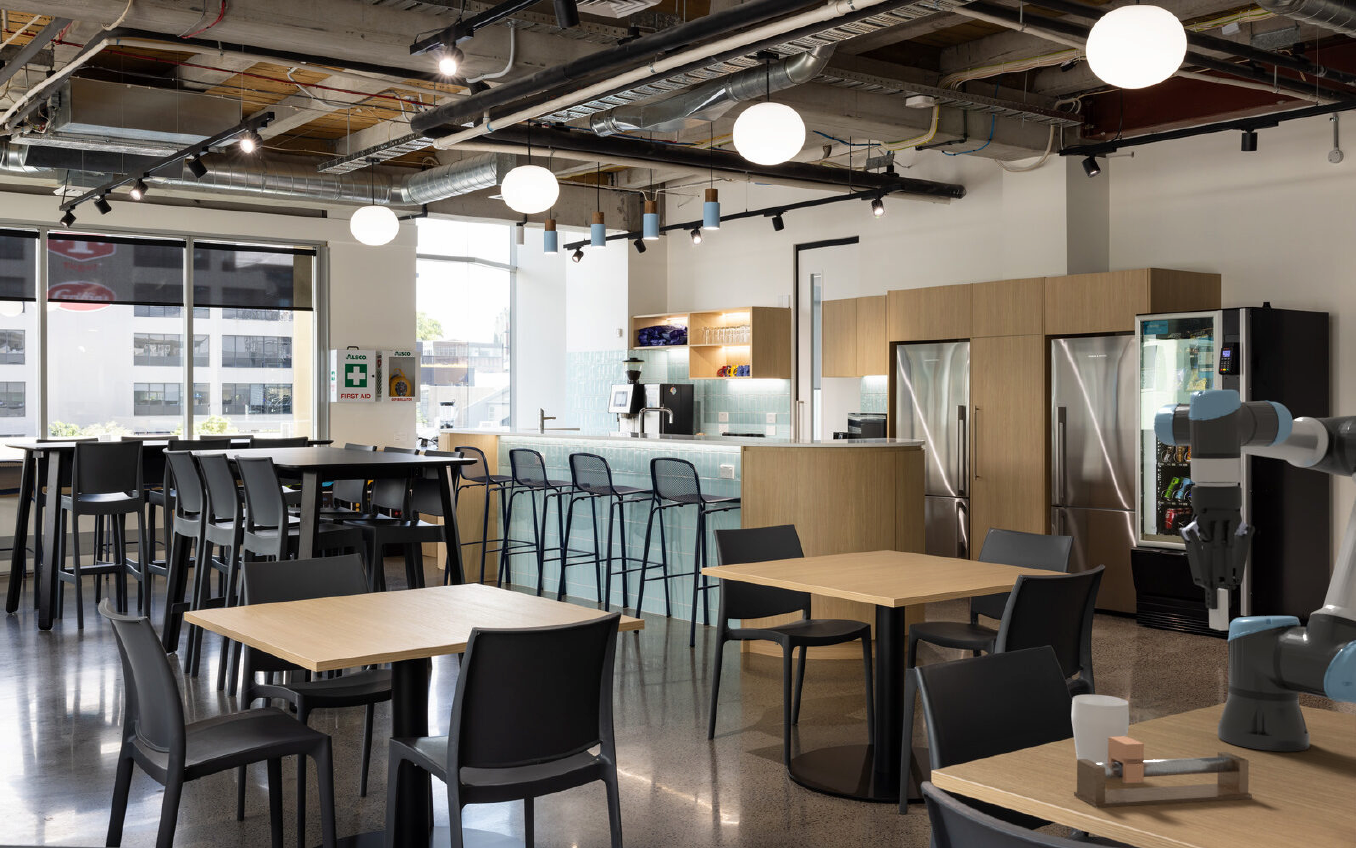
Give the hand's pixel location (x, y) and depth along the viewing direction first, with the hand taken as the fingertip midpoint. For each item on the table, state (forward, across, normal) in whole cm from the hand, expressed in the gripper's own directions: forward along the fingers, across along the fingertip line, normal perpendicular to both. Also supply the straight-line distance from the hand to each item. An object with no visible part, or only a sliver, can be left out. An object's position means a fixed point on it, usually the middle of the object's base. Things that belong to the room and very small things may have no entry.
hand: (1218, 628), depth 188 cm
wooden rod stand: (+24, +16, +7) cm, 29 cm away
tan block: (+21, +22, +7) cm, 31 cm away
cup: (+24, +18, -7) cm, 31 cm away
